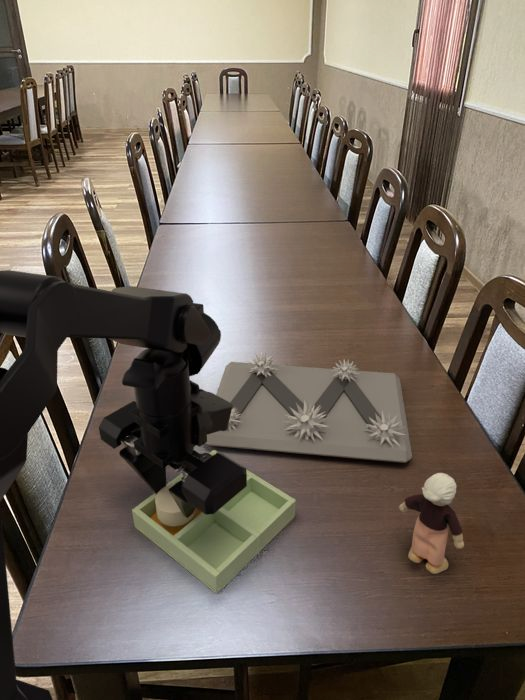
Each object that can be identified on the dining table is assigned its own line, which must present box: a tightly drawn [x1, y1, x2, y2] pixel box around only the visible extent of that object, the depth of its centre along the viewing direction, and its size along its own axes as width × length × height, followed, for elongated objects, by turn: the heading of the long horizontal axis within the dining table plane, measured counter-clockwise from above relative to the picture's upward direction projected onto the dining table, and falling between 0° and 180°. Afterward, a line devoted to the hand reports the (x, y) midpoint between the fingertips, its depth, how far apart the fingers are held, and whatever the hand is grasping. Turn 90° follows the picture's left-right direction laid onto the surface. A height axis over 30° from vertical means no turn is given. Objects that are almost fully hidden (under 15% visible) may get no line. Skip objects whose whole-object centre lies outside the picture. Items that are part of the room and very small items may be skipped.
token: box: [155, 484, 195, 527], centre depth 65 cm, size 5×5×2 cm
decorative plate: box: [204, 351, 413, 464], centre depth 83 cm, size 30×22×7 cm
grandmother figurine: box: [398, 472, 465, 575], centre depth 59 cm, size 8×4×13 cm, turn 58°
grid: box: [131, 449, 297, 595], centre depth 66 cm, size 14×14×3 cm
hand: (175, 504), depth 65 cm, fingers closed on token, 4 cm apart
